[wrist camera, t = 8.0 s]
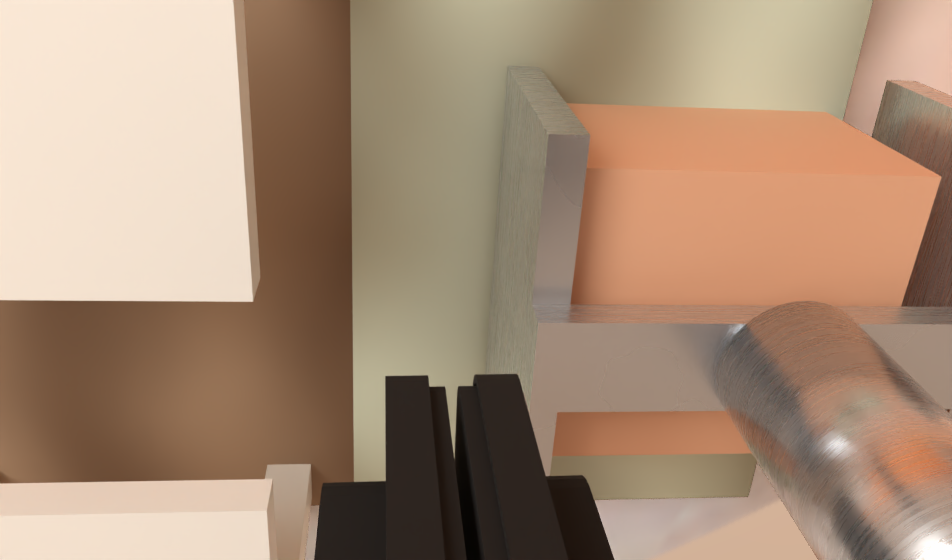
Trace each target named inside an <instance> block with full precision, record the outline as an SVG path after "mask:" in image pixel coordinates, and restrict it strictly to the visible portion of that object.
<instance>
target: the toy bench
mask: <svg viewBox="0 0 952 560" xmlns="http://www.w3.org/2000/svg"><path fill="white" fill-rule="evenodd" d="M259 281H260V263H259V246H258V230H257V213H256V197H255V180H254V164H253V147H252V131H251V114H250V98H249V81H248V65H247V48H246V31H245V15H244V0H0V300H54V301H212V302H253V300H254V297H255V294H256V290H257V287H258V284H259ZM311 502H312V482H311V464H273V465H267V470H266V475H265V479H245V480H184V481H123V482H63V483H2V484H0V560H305V554H306V545H307V536H308V528H309V519H310V511H311Z"/></svg>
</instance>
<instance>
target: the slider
mask: <svg viewBox="0 0 952 560" xmlns="http://www.w3.org/2000/svg"><path fill="white" fill-rule="evenodd" d="M872 138H874V139H875V140H877V141H879V142H881V143H882V144H884V145H886V146H888V147H890V148H891V149H893V150H895V151H897V152H898V153H900V154H902V155H904V156H906V157H907V158H909V159H911V160H913V161H914V162H916V163H918V164H920V165H922V166H923V167H925V168H927V169H929V170H930V171H932V172H934V173H936V174H938V175H939V176H941V180H940V184H939V187H938V190H937V193H936V196H935V199H934V203H933V206H932V209H931V212H930V215H929V219H928V222H927V225H926V228H925V231H924V235H923V238H922V241H921V244H920V247H919V251H918V254H917V257H916V260H915V263H914V267H913V270H912V273H911V276H910V279H909V283H908V286H907V289H906V292H905V295H904V299H903V302H902V305H901V306H832V305H830V304H827V303H822V302H817V301H797V302H791V303H786V304H782V305H779V306H759V305H598V304H570V302H571V294H572V285H573V277H574V269H575V260H576V252H577V244H578V235H579V227H580V218H581V210H582V202H583V193H584V185H585V177H586V168H587V160H588V152H589V143H590V134H589V133H588V131H587V130H586V129H585V127H584V126H583V125H582V123H581V122H580V121H579V119H578V118H577V117H576V115H575V114H574V113H573V111H572V110H571V109H570V107H569V106H568V105H567V104H566V102H565V101H564V100H563V98H562V97H561V96H560V94H559V93H558V92H557V90H556V89H555V88H554V86H553V85H552V84H551V82H550V81H549V80H548V78H547V77H546V76H545V74H544V73H543V72H542V70H541V69H540V68H539V67H528V66H507V79H506V93H505V107H504V120H503V134H502V148H501V162H500V175H499V189H498V203H497V217H496V230H495V244H494V258H493V272H492V285H491V299H490V313H489V327H488V340H487V354H486V368H485V374H517V375H518V376H519V379H520V383H521V386H522V390H523V394H524V397H525V401H526V405H527V408H528V412H529V416H530V420H531V423H532V427H533V431H534V434H535V438H536V442H537V445H538V449H539V453H540V457H541V460H542V464H543V468H544V471H545V475H546V476H550V470H551V461H552V453H553V444H554V436H555V428H556V419H557V412H648V411H726V412H727V414H728V415H729V417H730V419H731V420H732V422H733V423H734V425H735V427H736V428H737V430H738V431H739V433H740V435H741V436H742V438H743V440H744V441H745V443H746V444H747V446H748V448H749V449H750V451H751V452H752V454H753V456H754V457H755V459H756V460H757V462H758V464H759V465H760V467H761V468H762V470H763V472H764V473H765V475H766V477H767V478H768V480H769V481H770V483H771V485H772V486H773V488H774V489H775V491H776V493H777V494H778V496H779V497H780V499H781V501H782V502H783V504H784V505H785V507H786V509H787V510H788V512H789V513H790V515H791V517H792V518H793V520H794V521H795V523H796V525H797V526H798V528H799V530H800V531H801V533H802V534H803V536H804V538H805V539H806V541H807V543H808V544H809V546H810V547H811V549H812V551H813V552H814V553H815V555H816V557H817V559H818V560H952V96H950V95H948V94H945V93H943V92H941V91H938V90H936V89H933V88H931V87H928V86H926V85H924V84H921V83H919V82H916V81H898V80H887V82H886V86H885V89H884V93H883V97H882V101H881V104H880V108H879V112H878V115H877V119H876V123H875V127H874V130H873V134H872Z"/></svg>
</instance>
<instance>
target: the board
mask: <svg viewBox="0 0 952 560" xmlns="http://www.w3.org/2000/svg"><path fill="white" fill-rule="evenodd" d="M872 3H873V0H244V15H245V31H246V48H247V65H248V81H249V98H250V114H251V131H252V147H253V164H254V180H255V197H256V213H257V230H258V246H259V263H260V281H259V284H258V287H257V290H256V294H255V297H254V300H253V302H212V301H54V300H0V484H2V483H63V482H123V481H184V480H245V479H265V475H266V470H267V465H273V464H311V482H312V502H311V505H320V497H321V489H322V484H323V483H335V482H368V481H386V448H385V376H412V375H428V379H429V387H436V386H445V389H446V396H447V404H448V412H449V420H450V428H451V437H452V445H453V453H454V457H455V433H456V408H457V390H458V386H473V379H474V375H475V374H485V368H486V354H487V340H488V327H489V313H490V299H491V285H492V272H493V258H494V244H495V230H496V217H497V203H498V189H499V175H500V162H501V148H502V134H503V120H504V107H505V93H506V79H507V66H528V67H539V68H540V69H541V70H542V72H543V73H544V74H545V76H546V77H547V78H548V80H549V81H550V82H551V84H552V85H553V86H554V88H555V89H556V90H557V92H558V93H559V94H560V96H561V97H562V98H563V100H564V101H565V102H566V103H573V104H603V105H633V106H663V107H693V108H724V109H754V110H784V111H814V112H827V113H829V114H831V115H833V116H835V117H836V118H838V119H840V120H842V121H843V118H844V114H845V110H846V106H847V102H848V98H849V94H850V90H851V86H852V82H853V78H854V75H855V71H856V67H857V63H858V59H859V55H860V51H861V47H862V43H863V39H864V35H865V31H866V27H867V23H868V19H869V15H870V11H871V7H872ZM756 464H757V460H756V459H755V457H754V456H753V454H752V453H746V454H675V455H604V456H552V461H551V470H550V476H568V475H583V476H584V477H585V478H586V480H587V482H588V484H589V486H590V489H591V492H592V495H593V498H594V500H610V499H660V498H710V497H748V496H749V492H750V488H751V484H752V480H753V476H754V472H755V468H756Z"/></svg>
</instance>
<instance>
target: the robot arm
mask: <svg viewBox="0 0 952 560" xmlns="http://www.w3.org/2000/svg"><path fill="white" fill-rule="evenodd" d="M385 448H386V481H368V482H335V483H323V484H322V489H321V497H320V507H319V518H318V528H317V538H316V548H315V559H314V560H614V557H613V554H612V551H611V548H610V545H609V543H608V540H607V537H606V534H605V531H604V528H603V525H602V522H601V519H600V516H599V513H598V510H597V507H596V504H595V501H594V498H593V495H592V492H591V489H590V486H589V484H588V482H587V480H586V478H585V477H584V476H583V475H568V476H546V475H545V471H544V468H543V464H542V460H541V457H540V453H539V449H538V445H537V442H536V438H535V434H534V431H533V427H532V423H531V420H530V416H529V412H528V408H527V405H526V401H525V397H524V394H523V390H522V386H521V383H520V379H519V376H518V375H517V374H475V375H474V379H473V386H458V390H457V408H456V433H455V457H454V453H453V445H452V437H451V428H450V420H449V412H448V404H447V396H446V389H445V386H436V387H429V379H428V375H412V376H385Z"/></svg>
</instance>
